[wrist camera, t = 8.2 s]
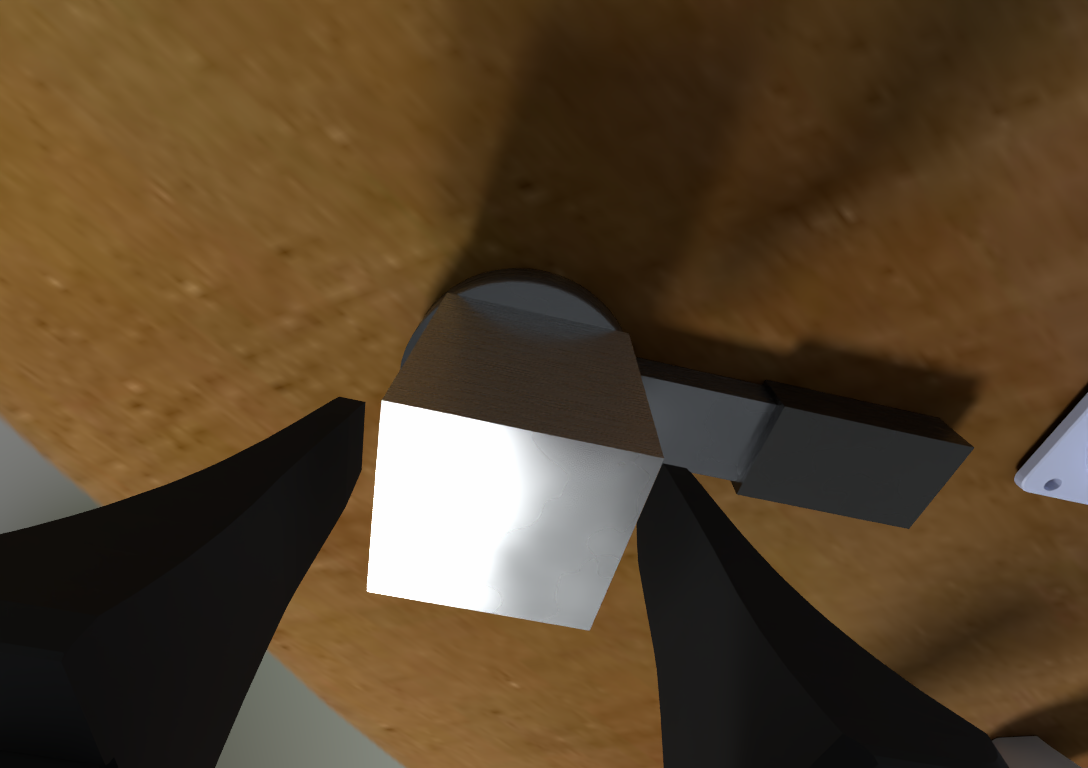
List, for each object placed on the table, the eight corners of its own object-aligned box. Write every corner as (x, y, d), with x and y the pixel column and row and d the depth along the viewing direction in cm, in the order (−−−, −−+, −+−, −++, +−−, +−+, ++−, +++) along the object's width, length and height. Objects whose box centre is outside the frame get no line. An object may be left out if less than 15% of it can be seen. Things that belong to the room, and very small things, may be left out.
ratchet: (985, 373, 15) (1126, 462, 12) (865, 533, 19) (942, 643, 15) (423, 243, 14) (371, 296, 10) (402, 440, 17) (357, 536, 14)
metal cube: (629, 333, 14) (664, 458, 9) (581, 473, 16) (589, 630, 11) (447, 292, 13) (381, 399, 8) (426, 442, 16) (366, 591, 11)
